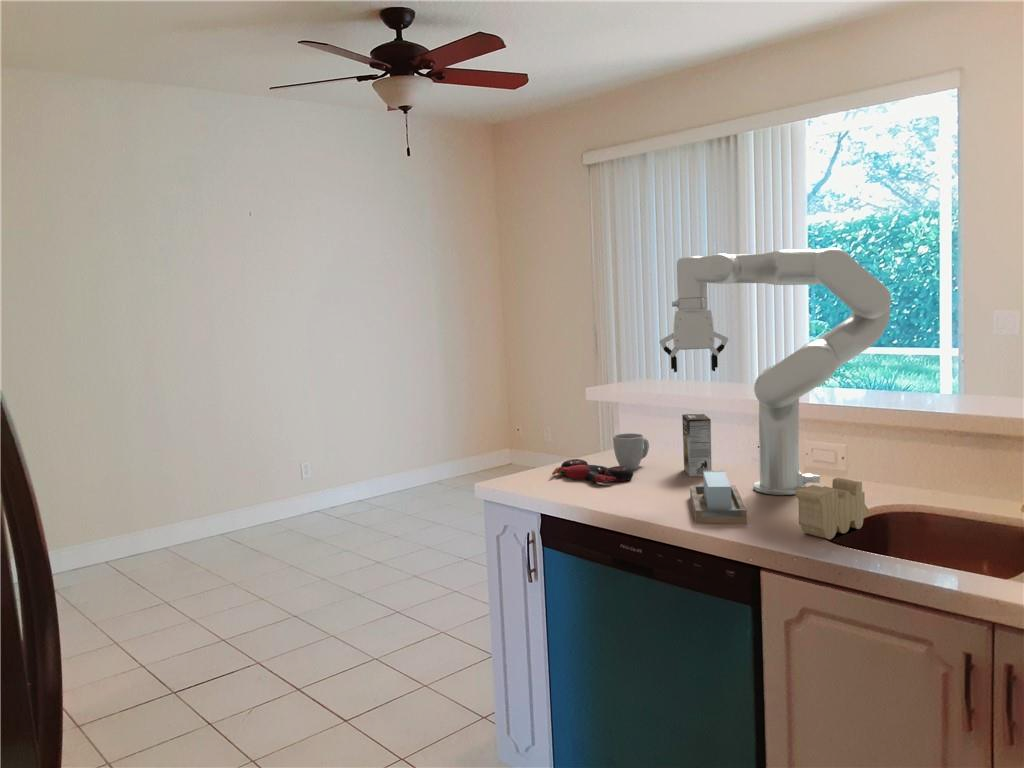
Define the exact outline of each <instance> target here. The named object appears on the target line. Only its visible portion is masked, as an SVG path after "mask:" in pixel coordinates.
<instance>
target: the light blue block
mask: <svg viewBox="0 0 1024 768" xmlns="http://www.w3.org/2000/svg"><path fill="white" fill-rule="evenodd" d="M702 477H703V479H702V481H703V483H702V484H703V485H702V486H703V487H704V498H705V501H706V505H707V508H708V509H732V498H731V483H730V480H729V479H728V478H729V477H728V476H727V474H726V471H725V470H712V471H703V476H702Z"/></svg>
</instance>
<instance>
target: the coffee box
mask: <svg viewBox="0 0 1024 768" xmlns="http://www.w3.org/2000/svg"><path fill="white" fill-rule="evenodd" d="M681 416H682V420H681V421H682V442H683V443H682V444H683V449H682V451H683V470H684V471H685V472H686V474H687V475H688V476H689V477H703V471H713V470H712V424H711V423H712V420H711V418H710V417H708V416H707V415H706V414H704V413H699V414H698V413H689V414H688V413H687V414H686V413H685V414H682V415H681Z"/></svg>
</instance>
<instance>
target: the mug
mask: <svg viewBox="0 0 1024 768" xmlns="http://www.w3.org/2000/svg"><path fill="white" fill-rule="evenodd" d="M612 439H613V450H614V451H613V452H614V454H615V458H616V461H617V463H618V466H625V467H629V468H631V469H632V470H633V471H634V470H638V469H639V467H640V465H641V464H640V463H642V462H641V461H642V460H643V459H645V458H646V457H647V455H648V454H649V453H648V452H649V450H650V449H649V448H650V444H649V440H648V439H647V438H645V437H644V435H643V434H641V433H633V432H632V433H629V432H627V433H617V434H615V435H613V438H612Z"/></svg>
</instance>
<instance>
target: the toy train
mask: <svg viewBox="0 0 1024 768" xmlns="http://www.w3.org/2000/svg"><path fill="white" fill-rule="evenodd" d="M794 495H795V497H796V499H797V500H798V523H799V525H800V528H801V532H802V533H804V534H807V535H809V536H810V535H811V536H815V537H818V538H821V539H826V540H832V539H833V538H834V537H835V536H836V534H837V533H838V534H839V533H840V534H846V533H848V532H849V530H850V528H852V529H856V530H860V529H861V528H863V524H864V518H865V517H868V516H869V514H870V511H869V509H868V507H867V505H866V501H865V500H866V499H865V496H866V495H865V492H864V491H863V481H858V480H853V479H846V478H841V477H834V478H832V487H830V486H819V485H814V484H811V485H808V486H806V487H804V488H801V489H798V490H796V492H795V494H794Z"/></svg>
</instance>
